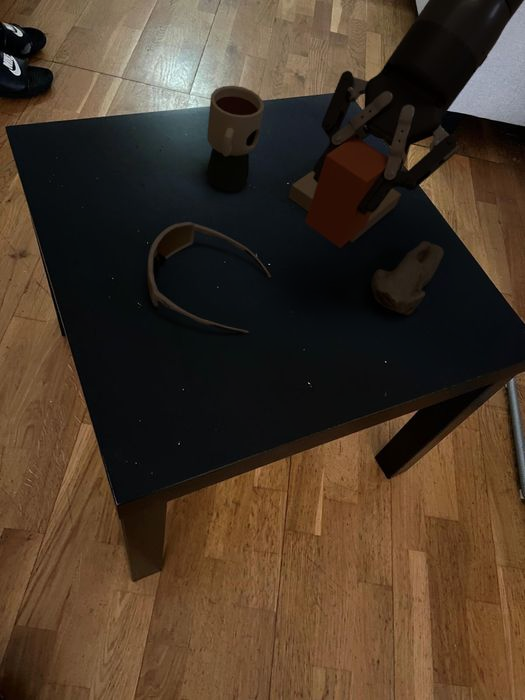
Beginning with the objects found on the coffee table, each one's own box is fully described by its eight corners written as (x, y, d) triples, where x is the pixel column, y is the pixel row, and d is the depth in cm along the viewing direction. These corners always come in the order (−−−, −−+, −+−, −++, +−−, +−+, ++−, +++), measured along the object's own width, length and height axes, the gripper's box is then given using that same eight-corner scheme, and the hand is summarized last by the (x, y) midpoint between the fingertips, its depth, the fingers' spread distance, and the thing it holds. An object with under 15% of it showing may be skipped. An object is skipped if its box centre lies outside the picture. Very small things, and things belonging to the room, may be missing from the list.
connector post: (365, 227, 61) (394, 161, 53) (340, 248, 58) (367, 182, 51) (330, 203, 62) (354, 135, 55) (304, 222, 60) (326, 154, 52)
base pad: (395, 206, 84) (401, 194, 82) (352, 243, 78) (357, 230, 76) (334, 165, 87) (339, 152, 85) (288, 197, 81) (291, 184, 79)
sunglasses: (170, 229, 73) (176, 203, 69) (270, 276, 75) (281, 253, 71) (124, 305, 65) (128, 280, 61) (238, 355, 67) (249, 334, 63)
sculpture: (400, 248, 80) (353, 300, 72) (415, 224, 77) (368, 276, 68) (440, 275, 79) (398, 332, 70) (457, 252, 75) (415, 310, 67)
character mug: (242, 210, 78) (256, 131, 67) (195, 198, 78) (201, 117, 67) (255, 164, 84) (270, 85, 74) (211, 152, 84) (219, 72, 73)
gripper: (380, -13, 49) (274, 148, 53) (516, 62, 46) (391, 229, 50) (390, 30, 56) (295, 170, 60) (507, 98, 53) (399, 242, 57)
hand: (339, 196), depth 55 cm, fingers closed on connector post, 5 cm apart
